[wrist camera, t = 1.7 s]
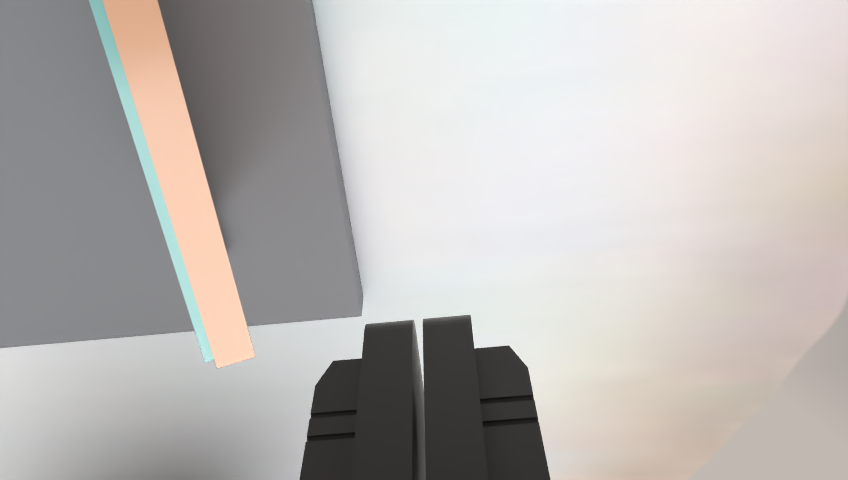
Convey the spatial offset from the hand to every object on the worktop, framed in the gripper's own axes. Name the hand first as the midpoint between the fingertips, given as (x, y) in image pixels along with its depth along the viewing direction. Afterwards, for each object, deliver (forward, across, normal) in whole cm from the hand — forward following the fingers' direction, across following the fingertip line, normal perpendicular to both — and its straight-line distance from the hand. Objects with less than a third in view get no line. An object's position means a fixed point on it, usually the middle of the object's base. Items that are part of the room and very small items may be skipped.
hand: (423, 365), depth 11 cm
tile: (+14, +8, 0) cm, 16 cm away
